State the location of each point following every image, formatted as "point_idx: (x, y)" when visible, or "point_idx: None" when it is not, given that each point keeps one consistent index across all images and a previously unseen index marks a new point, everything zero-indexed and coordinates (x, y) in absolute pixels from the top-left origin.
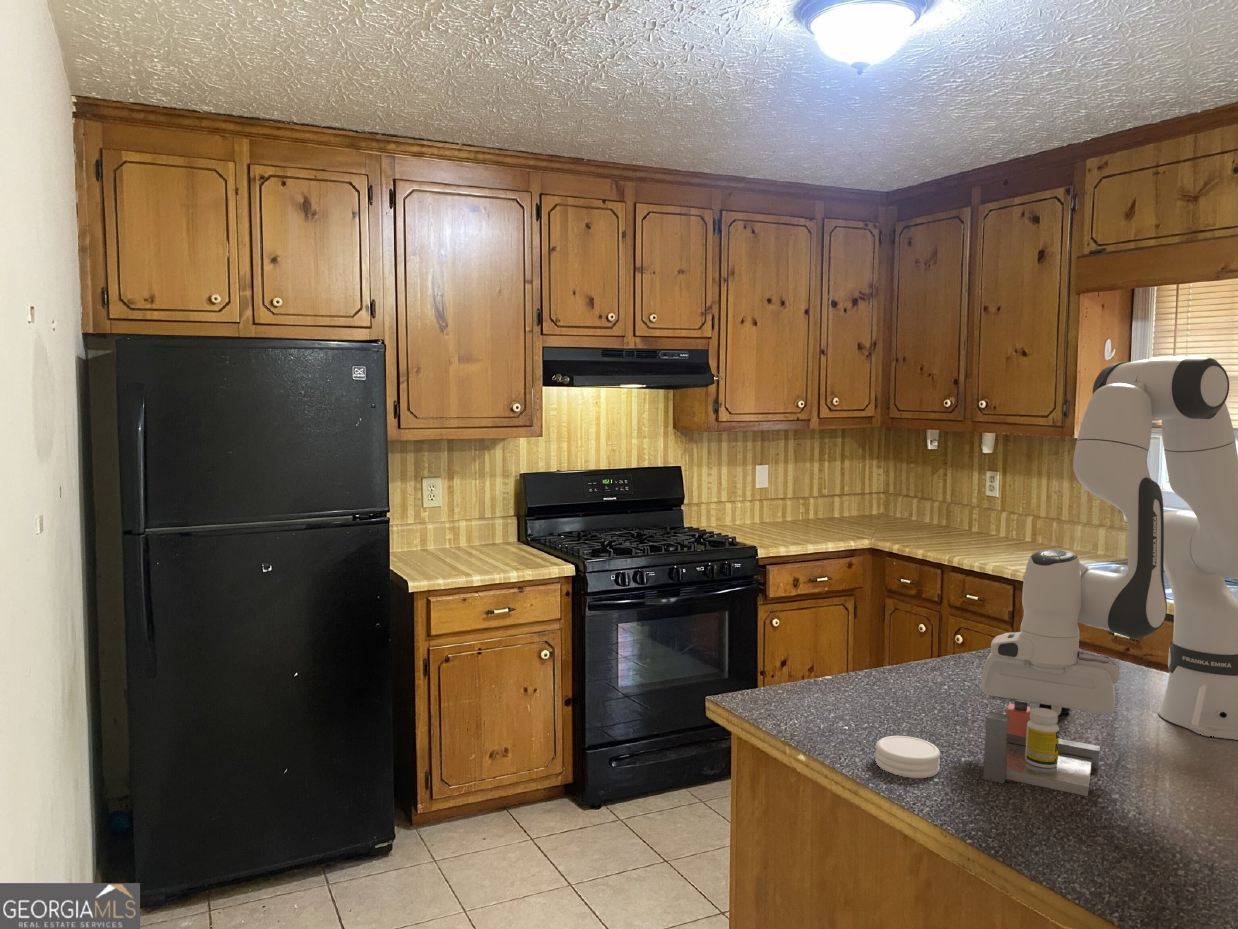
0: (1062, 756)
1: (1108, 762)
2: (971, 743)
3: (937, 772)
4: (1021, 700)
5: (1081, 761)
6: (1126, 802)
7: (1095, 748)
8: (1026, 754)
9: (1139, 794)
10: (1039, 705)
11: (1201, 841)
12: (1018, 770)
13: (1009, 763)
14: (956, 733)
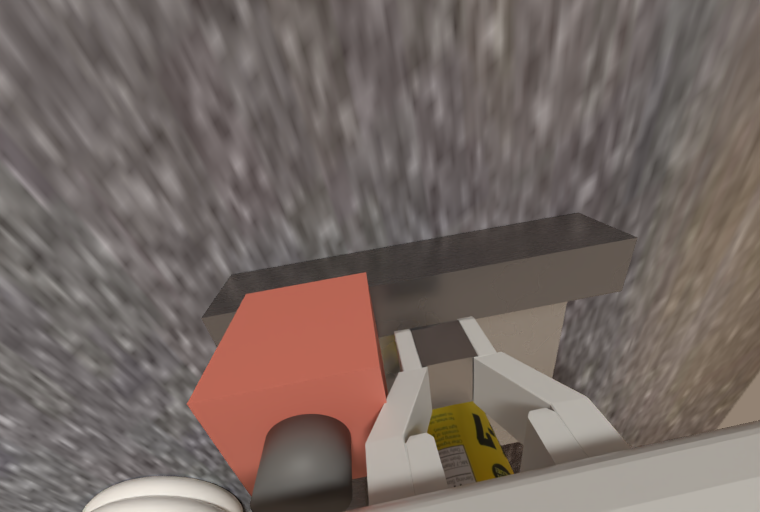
0: (481, 321)
1: (613, 169)
2: (170, 321)
3: (241, 510)
4: (287, 478)
5: (537, 319)
6: (600, 391)
7: (613, 275)
8: None
9: (639, 341)
10: (434, 445)
11: (683, 435)
12: None
13: None
14: (53, 269)
